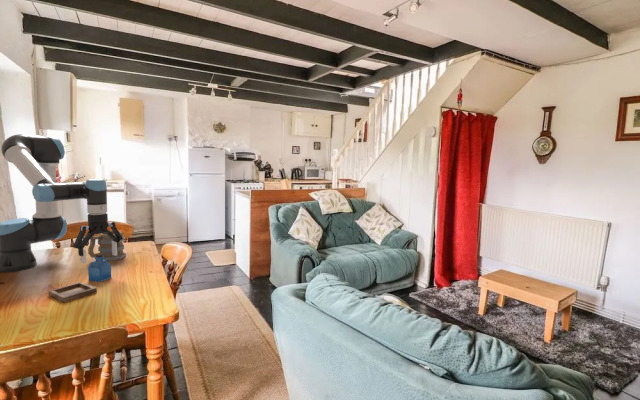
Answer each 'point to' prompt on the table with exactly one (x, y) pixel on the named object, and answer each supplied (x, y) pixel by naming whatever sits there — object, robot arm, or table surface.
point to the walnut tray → (72, 292)
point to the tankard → (106, 246)
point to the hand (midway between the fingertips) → (99, 258)
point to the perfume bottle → (99, 269)
